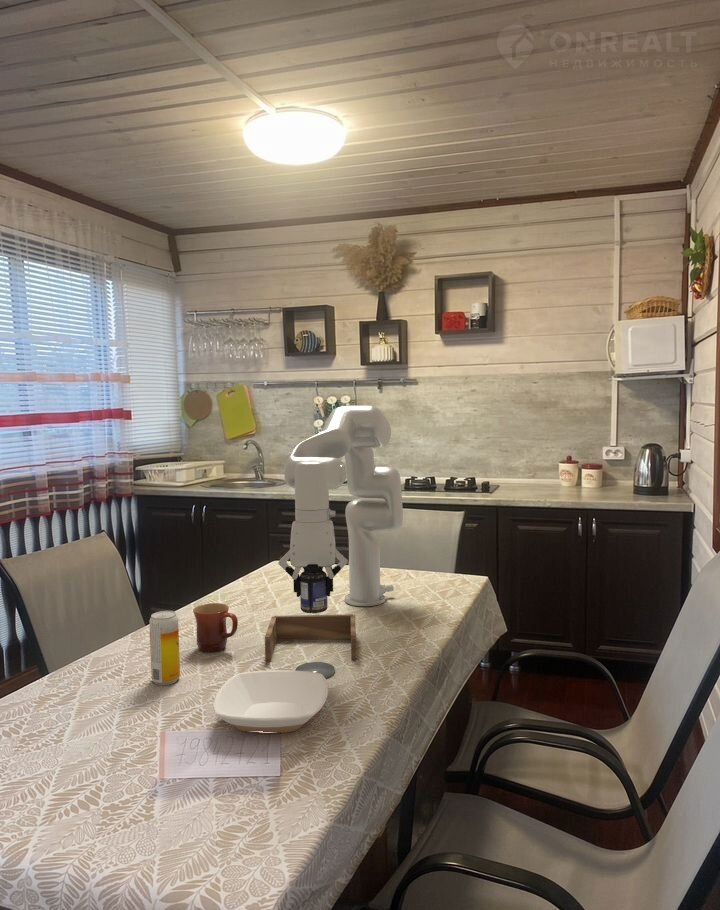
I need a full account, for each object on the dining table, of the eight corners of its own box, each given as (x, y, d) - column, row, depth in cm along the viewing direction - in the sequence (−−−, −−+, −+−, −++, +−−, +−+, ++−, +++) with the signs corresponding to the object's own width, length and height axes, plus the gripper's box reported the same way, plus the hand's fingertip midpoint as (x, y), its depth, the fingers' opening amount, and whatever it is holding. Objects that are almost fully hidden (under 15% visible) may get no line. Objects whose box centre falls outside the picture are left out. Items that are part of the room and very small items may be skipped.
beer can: (185, 676, 149) (183, 611, 148) (169, 687, 143) (167, 620, 142) (162, 673, 151) (160, 609, 150) (145, 684, 145) (143, 617, 144)
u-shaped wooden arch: (272, 638, 173) (272, 615, 172) (355, 636, 173) (355, 614, 173) (265, 661, 157) (264, 636, 157) (356, 659, 158) (356, 635, 157)
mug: (186, 651, 164) (185, 611, 164) (209, 640, 172) (207, 601, 171) (226, 659, 159) (225, 617, 158) (247, 646, 167) (246, 606, 166)
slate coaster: (323, 661, 157) (323, 659, 157) (342, 674, 149) (342, 671, 149) (288, 669, 152) (288, 667, 152) (306, 683, 145) (306, 681, 145)
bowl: (230, 693, 140) (229, 669, 140) (332, 694, 140) (331, 669, 139) (203, 746, 119) (202, 718, 118) (323, 747, 118) (322, 718, 118)
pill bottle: (329, 606, 152) (328, 558, 151) (325, 614, 146) (324, 565, 145) (303, 605, 153) (302, 558, 152) (297, 613, 147) (297, 565, 146)
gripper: (350, 512, 152) (351, 589, 153) (275, 513, 151) (276, 591, 153) (351, 518, 144) (352, 599, 146) (271, 519, 144) (273, 600, 145)
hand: (313, 594), depth 149 cm, fingers closed on pill bottle, 6 cm apart
